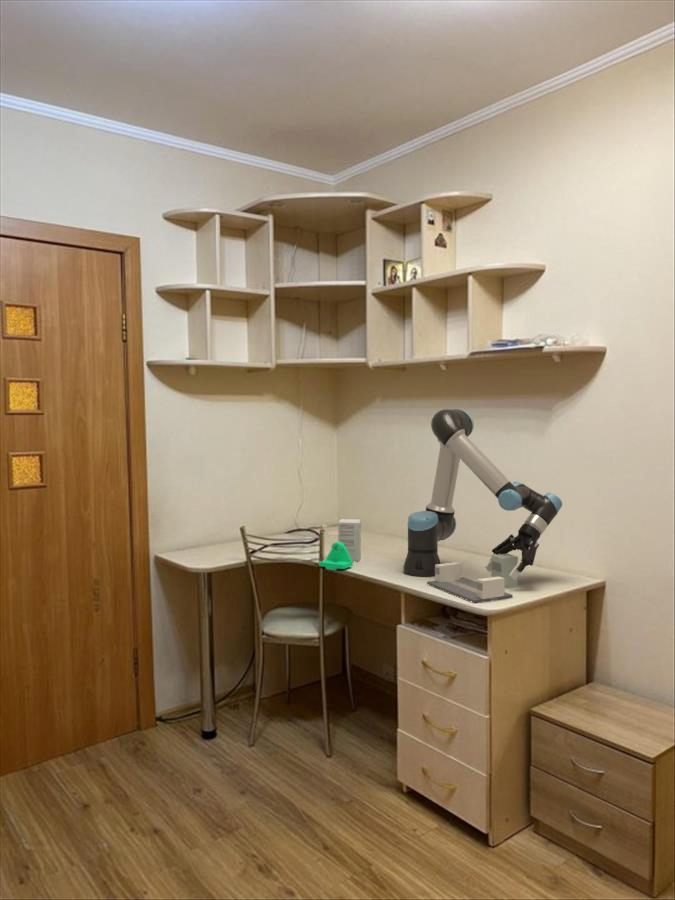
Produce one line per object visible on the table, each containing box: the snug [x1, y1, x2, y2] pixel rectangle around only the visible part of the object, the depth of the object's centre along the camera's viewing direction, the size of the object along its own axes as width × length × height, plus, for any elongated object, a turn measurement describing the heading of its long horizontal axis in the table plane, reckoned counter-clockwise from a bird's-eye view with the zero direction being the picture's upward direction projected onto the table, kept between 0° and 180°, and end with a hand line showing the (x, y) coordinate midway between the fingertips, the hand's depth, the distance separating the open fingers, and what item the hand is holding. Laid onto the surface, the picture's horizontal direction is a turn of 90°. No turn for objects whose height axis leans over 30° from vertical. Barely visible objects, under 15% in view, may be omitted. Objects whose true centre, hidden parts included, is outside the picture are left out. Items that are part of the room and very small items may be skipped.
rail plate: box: [426, 562, 514, 604], centre depth 241 cm, size 28×16×7 cm, turn 26°
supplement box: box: [337, 518, 362, 562], centre depth 293 cm, size 10×9×17 cm
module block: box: [490, 553, 519, 589], centre depth 248 cm, size 6×7×11 cm
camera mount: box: [318, 541, 354, 571], centre depth 278 cm, size 12×8×10 cm, turn 60°
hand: (499, 573), depth 247 cm, fingers open, 13 cm apart
